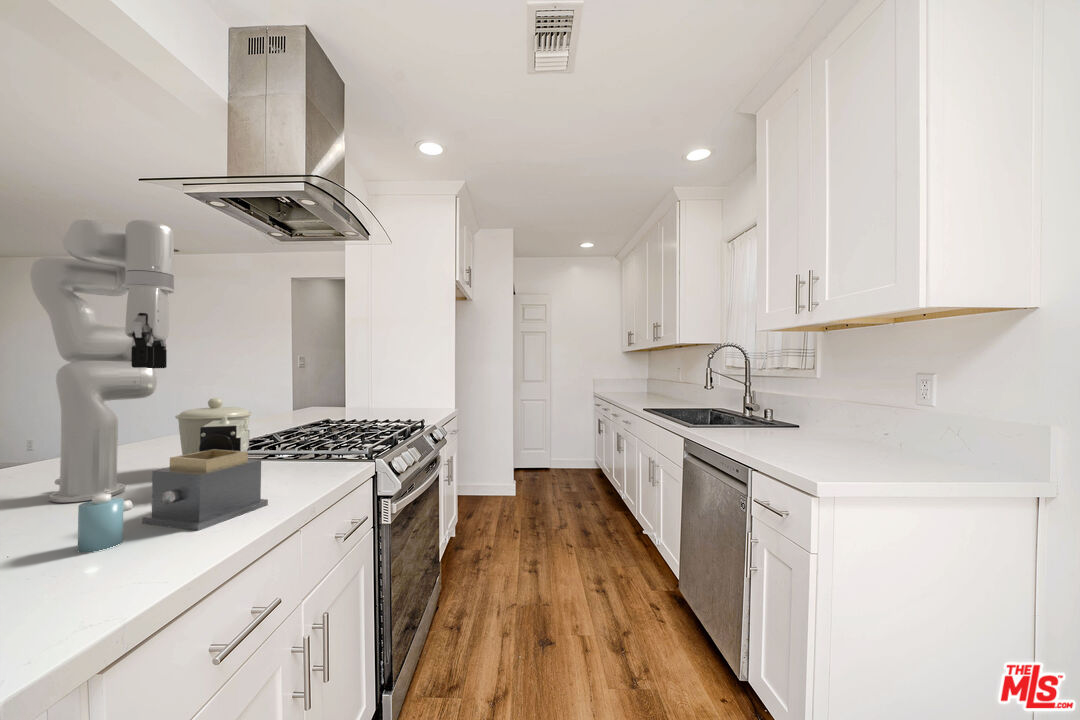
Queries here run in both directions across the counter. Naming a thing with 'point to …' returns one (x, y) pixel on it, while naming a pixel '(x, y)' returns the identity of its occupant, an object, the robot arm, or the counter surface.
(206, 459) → the grey box
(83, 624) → the counter surface
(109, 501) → the drain pump
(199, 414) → the canister
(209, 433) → the cream boxy piece
